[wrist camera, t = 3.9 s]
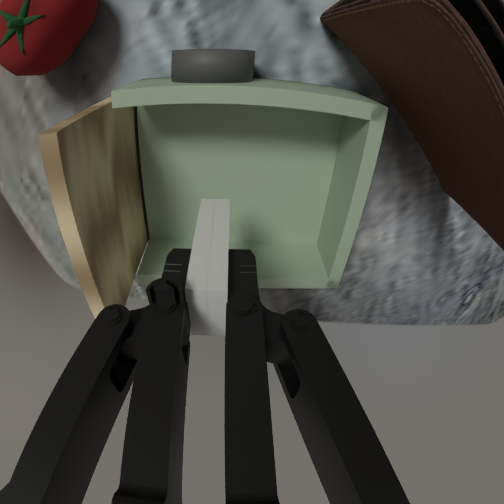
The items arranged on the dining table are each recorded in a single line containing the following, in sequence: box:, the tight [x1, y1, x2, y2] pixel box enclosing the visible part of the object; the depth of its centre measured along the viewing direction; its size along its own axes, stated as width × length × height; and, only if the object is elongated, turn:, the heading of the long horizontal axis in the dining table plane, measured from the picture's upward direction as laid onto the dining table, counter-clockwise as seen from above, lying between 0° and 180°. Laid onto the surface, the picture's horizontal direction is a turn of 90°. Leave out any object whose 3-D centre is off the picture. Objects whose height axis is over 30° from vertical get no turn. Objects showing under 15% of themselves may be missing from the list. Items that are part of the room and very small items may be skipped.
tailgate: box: [38, 97, 150, 319], centre depth 17 cm, size 13×1×11 cm, turn 176°
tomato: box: [0, 0, 99, 76], centre depth 10 cm, size 8×8×7 cm
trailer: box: [111, 49, 388, 288], centre depth 20 cm, size 18×15×6 cm
